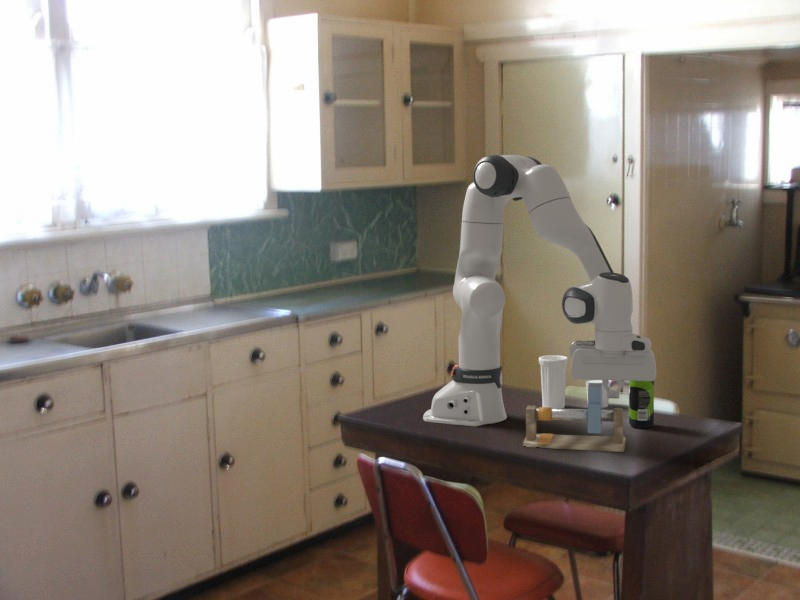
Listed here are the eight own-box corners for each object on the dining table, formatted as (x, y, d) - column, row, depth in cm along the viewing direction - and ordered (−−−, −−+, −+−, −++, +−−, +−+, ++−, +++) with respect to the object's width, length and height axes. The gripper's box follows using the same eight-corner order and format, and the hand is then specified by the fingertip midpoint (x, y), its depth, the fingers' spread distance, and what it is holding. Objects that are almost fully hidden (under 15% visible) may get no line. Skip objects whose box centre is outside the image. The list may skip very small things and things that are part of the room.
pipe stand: (522, 447, 258) (522, 411, 257) (527, 438, 267) (527, 402, 266) (623, 451, 252) (623, 414, 251) (625, 441, 261) (625, 405, 260)
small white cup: (582, 403, 302) (582, 379, 302) (606, 402, 303) (606, 378, 302) (589, 409, 296) (589, 384, 295) (613, 408, 296) (613, 383, 295)
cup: (544, 403, 304) (543, 354, 302) (571, 405, 300) (571, 356, 298) (535, 410, 297) (534, 359, 295) (563, 412, 293) (562, 361, 291)
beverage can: (658, 425, 276) (658, 368, 274) (645, 430, 271) (645, 372, 270) (637, 422, 280) (637, 365, 278) (624, 426, 276) (624, 369, 274)
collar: (587, 432, 255) (587, 387, 254) (589, 425, 262) (589, 381, 260) (600, 433, 254) (600, 388, 253) (602, 426, 261) (602, 382, 260)
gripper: (568, 342, 254) (568, 399, 255) (656, 344, 249) (656, 402, 250) (570, 338, 260) (570, 393, 261) (657, 339, 255) (656, 396, 256)
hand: (613, 397), depth 256 cm, fingers closed
